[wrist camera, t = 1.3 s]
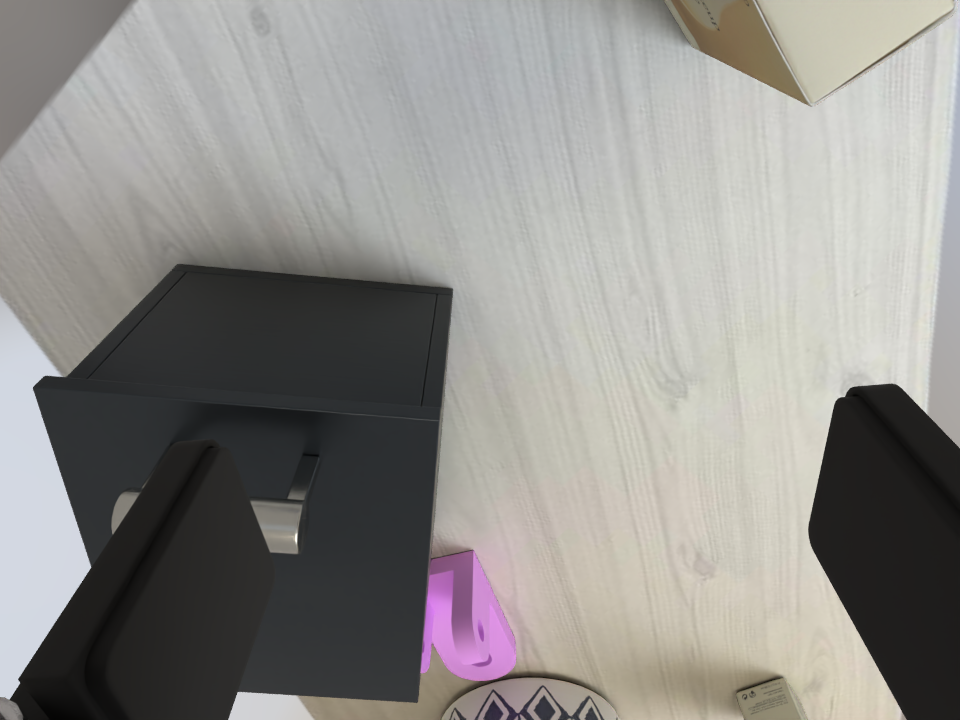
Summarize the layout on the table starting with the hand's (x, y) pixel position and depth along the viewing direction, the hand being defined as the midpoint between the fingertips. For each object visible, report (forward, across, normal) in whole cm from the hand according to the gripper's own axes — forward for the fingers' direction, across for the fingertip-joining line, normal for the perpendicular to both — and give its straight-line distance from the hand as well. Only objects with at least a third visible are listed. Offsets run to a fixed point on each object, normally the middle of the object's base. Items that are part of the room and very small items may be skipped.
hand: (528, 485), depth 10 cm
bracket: (+25, +6, +35) cm, 43 cm away
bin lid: (+12, +12, +14) cm, 23 cm away
